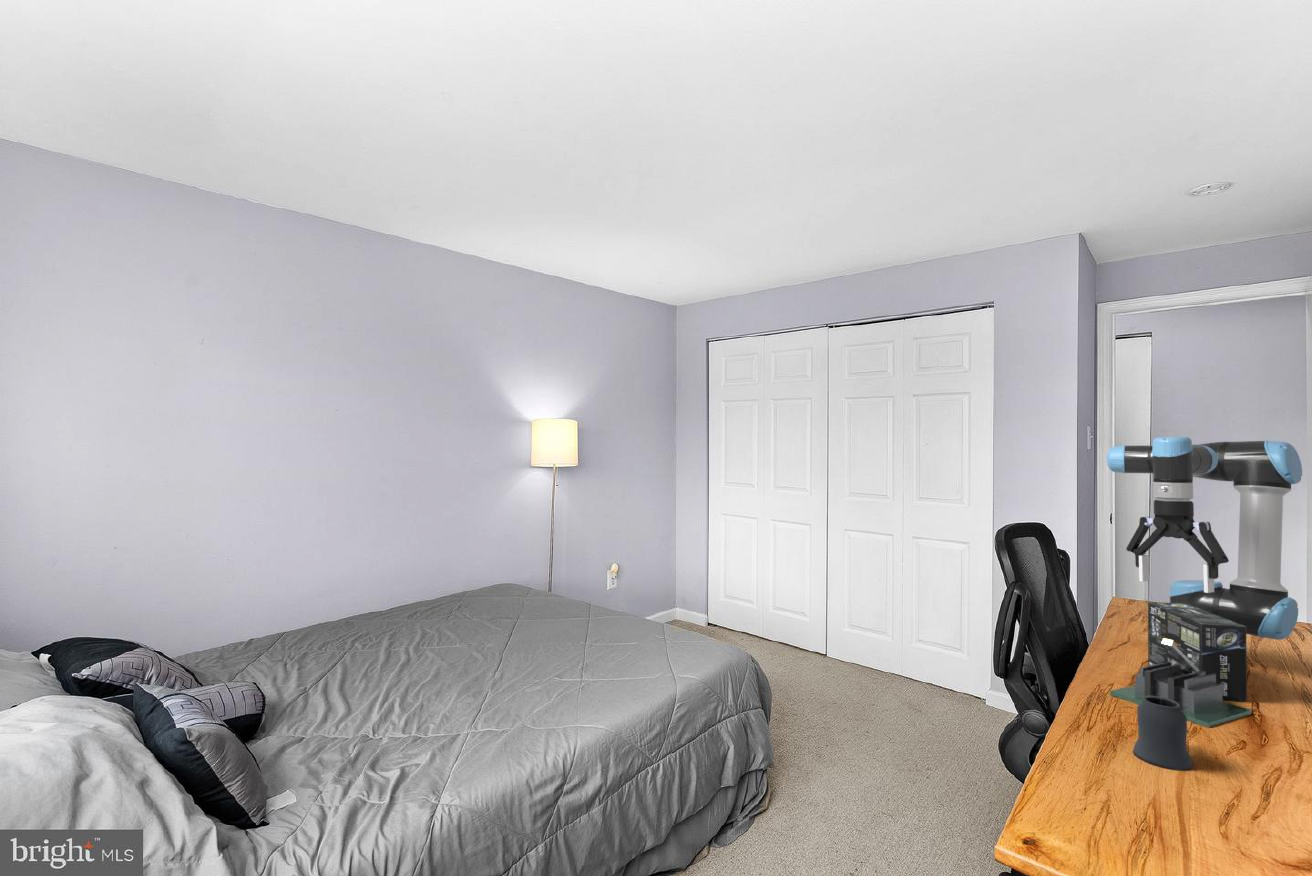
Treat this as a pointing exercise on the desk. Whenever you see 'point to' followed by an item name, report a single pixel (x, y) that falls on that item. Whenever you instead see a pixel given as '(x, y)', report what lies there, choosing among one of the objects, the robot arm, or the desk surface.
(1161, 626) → the box
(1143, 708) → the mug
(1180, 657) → the strap
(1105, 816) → the desk surface
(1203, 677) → the heatsink
